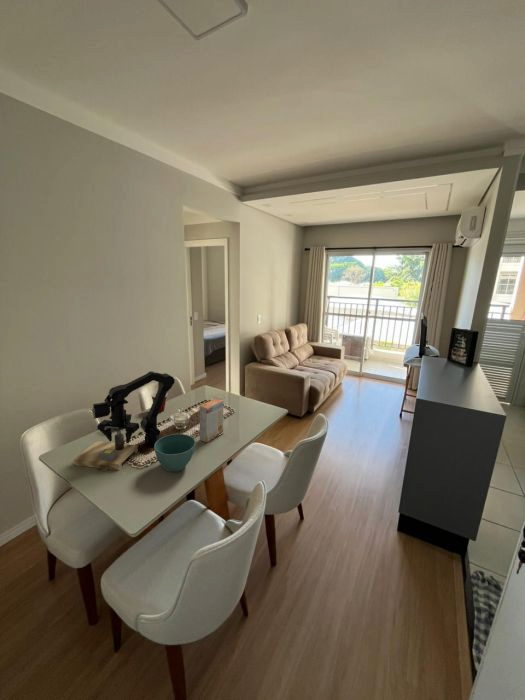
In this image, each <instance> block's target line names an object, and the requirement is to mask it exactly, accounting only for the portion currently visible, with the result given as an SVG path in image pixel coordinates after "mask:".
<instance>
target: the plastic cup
mask: <svg viewBox="0 0 525 700" xmlns="http://www.w3.org/2000/svg"><path fill="white" fill-rule="evenodd" d="M156 394H157V392H153V393H151V394H150V396H151V401H152V402H153V401H154V399H155V396H156ZM167 398H168V392H167V393H166V396H165V398H164V401H163V403H162V406H161V408H160V411H159V413H163V412H164V411H165V408H166V401H167ZM159 413H158V414H159Z"/></svg>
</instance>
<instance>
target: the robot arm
mask: <svg viewBox="0 0 525 700" xmlns="http://www.w3.org/2000/svg"><path fill="white" fill-rule="evenodd" d="M153 381H154V382H157V383H158V384H157V385H158V386H157V391H156V393H157V394H156V396H155V399H154V401H153V400H152V403H151V407H150V409H149V411H148V413H147V415H143V416H142V418H141V420H140V422H132V414H131V413H127V412H126V413H124V409H125V405H126V404H129V401H128V400H127V399H126V398H128V396H129V395H130V394H131V393H132V392H135V391H136V390H138V389H140V388H141V387H143V386H146V385H147V384H149V383H151V382H153ZM175 382H176V381H175V378H174V377H173V375H171V374H169V373H167V372H165V373H159V372H156V371H152V370H151V371H148V372H147V373H145V374H144V375H141V376H139V377H138V378H136V379H134V380H131V381H129V382H128V383H125V384H119V385H116V386H113V387H111V388H110V389H109V391H108V394H107V396H106V397H105V398H104V402H99V403H98V402H97V403H93V404H92V409H91V414H92V417H93V419H94V420H96V419H99V418H104V417H108V416H109V415H110V416H109V420H108V419H104V420H102V421H100V422H99V423H97V426H96V427H97V429H96V430H98V431H99V432H101V433H102V434H103V435H104V436H105V437H106V439H107V440H108V442H110V443H112V441H113V435H112V434H113V433H112V429H113V428H122V430H124V431H125V433H124V435H125V440H126V444H129V443H130V441H131V438H132V436H133V434H134V433H135V432H136V431H138V430H139V429H142V431H143V432H144V434H145V435H144V447H149V448H151V447H153V448H155V443H156V442H157V441H158V440H159V439H160V434H161V430H160V429H159V428H158V427H157V425H158V416H159V411H160V408H161V406H162V403H163V401H164V398H165V396H166V393H167V394H168V392H169V391H170V390H171V389H172V387H173V386H174V384H175ZM129 420H130V422H131V423H130V424H129V425H125V423H127V422H128V421H129Z"/></svg>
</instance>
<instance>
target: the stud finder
mask: <svg viewBox="0 0 525 700" xmlns="http://www.w3.org/2000/svg"><path fill="white" fill-rule="evenodd" d="M117 456H118V455H117V450H111V449H105V450H103V451H102V452H101V453H100V459H101V460H110V461H113V460H114V459H115V458H116V457H117Z"/></svg>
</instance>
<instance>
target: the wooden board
mask: <svg viewBox="0 0 525 700" xmlns="http://www.w3.org/2000/svg"><path fill="white" fill-rule="evenodd" d="M105 449H111V450H116V449H115V442H110V441H108V442H107V441H101V440H97V441H95V442H94V443H93V444H91V445H90V446H88V447H87V448H86V449H85V450H84V451H82V452H80V454H78V455H77V456H75V458H73V462H74V466H79V467H88V468H89V467H90V468H98V471H102V472H108V471H109V470H113V471H120V470H121V469H122V466H123V465H122V464H123V463H124V462H125V461H126V460H127V458H129V457H130V456H131V455H132V454H137V453H138V445H137V444H129V443H124V449H122V450H117V455H118V456H117V457H116V458H115V459H114V460H113V461H110V460H101V459H100V453H101V452H102V451H103V450H105Z"/></svg>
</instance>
